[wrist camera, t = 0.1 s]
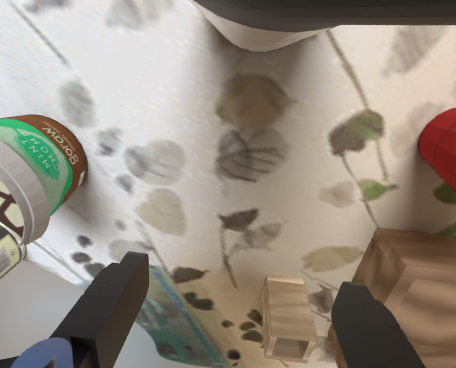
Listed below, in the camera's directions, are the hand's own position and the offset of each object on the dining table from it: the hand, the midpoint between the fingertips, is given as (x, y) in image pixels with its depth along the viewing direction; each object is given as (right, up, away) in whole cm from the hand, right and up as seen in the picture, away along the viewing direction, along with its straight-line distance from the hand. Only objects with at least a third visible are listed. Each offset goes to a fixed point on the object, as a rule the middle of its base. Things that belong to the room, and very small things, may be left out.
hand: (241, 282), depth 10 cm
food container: (-19, +9, +17) cm, 27 cm away
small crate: (+7, -11, +25) cm, 28 cm away
